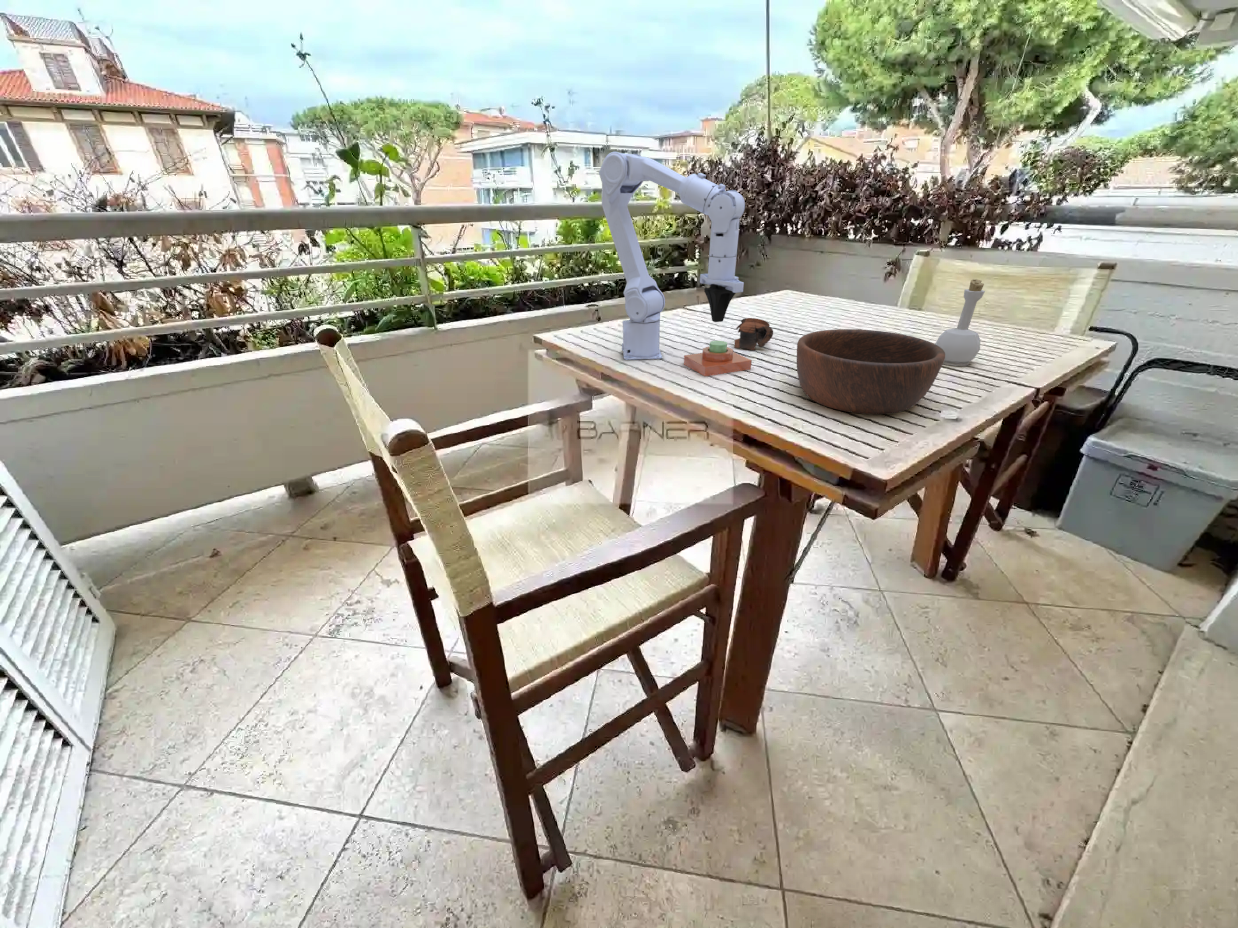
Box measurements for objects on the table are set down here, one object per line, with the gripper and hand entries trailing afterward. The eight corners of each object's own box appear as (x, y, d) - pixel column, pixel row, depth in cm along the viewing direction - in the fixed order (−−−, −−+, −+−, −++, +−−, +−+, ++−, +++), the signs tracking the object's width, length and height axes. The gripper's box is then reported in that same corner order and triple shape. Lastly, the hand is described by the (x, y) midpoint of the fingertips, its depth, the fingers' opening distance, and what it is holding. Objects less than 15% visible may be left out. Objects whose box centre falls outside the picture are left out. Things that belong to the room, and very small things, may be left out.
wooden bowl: (951, 398, 93) (969, 345, 88) (891, 434, 80) (907, 375, 75) (831, 368, 110) (840, 322, 105) (764, 394, 97) (771, 343, 92)
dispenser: (704, 376, 107) (706, 359, 105) (683, 364, 115) (684, 347, 113) (750, 369, 111) (752, 352, 109) (726, 358, 119) (728, 341, 117)
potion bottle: (961, 356, 116) (987, 277, 107) (982, 367, 108) (1012, 283, 100) (923, 356, 117) (946, 277, 108) (940, 367, 109) (967, 283, 101)
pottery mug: (723, 347, 129) (731, 317, 128) (747, 358, 134) (755, 329, 133) (757, 345, 118) (766, 312, 118) (782, 357, 124) (790, 326, 123)
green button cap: (714, 355, 109) (715, 346, 108) (705, 350, 112) (706, 341, 111) (729, 352, 110) (730, 344, 109) (720, 348, 114) (721, 339, 113)
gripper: (759, 258, 97) (751, 326, 104) (720, 252, 109) (716, 313, 116) (729, 260, 95) (723, 329, 102) (693, 253, 107) (690, 316, 114)
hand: (717, 321), depth 109 cm, fingers closed
